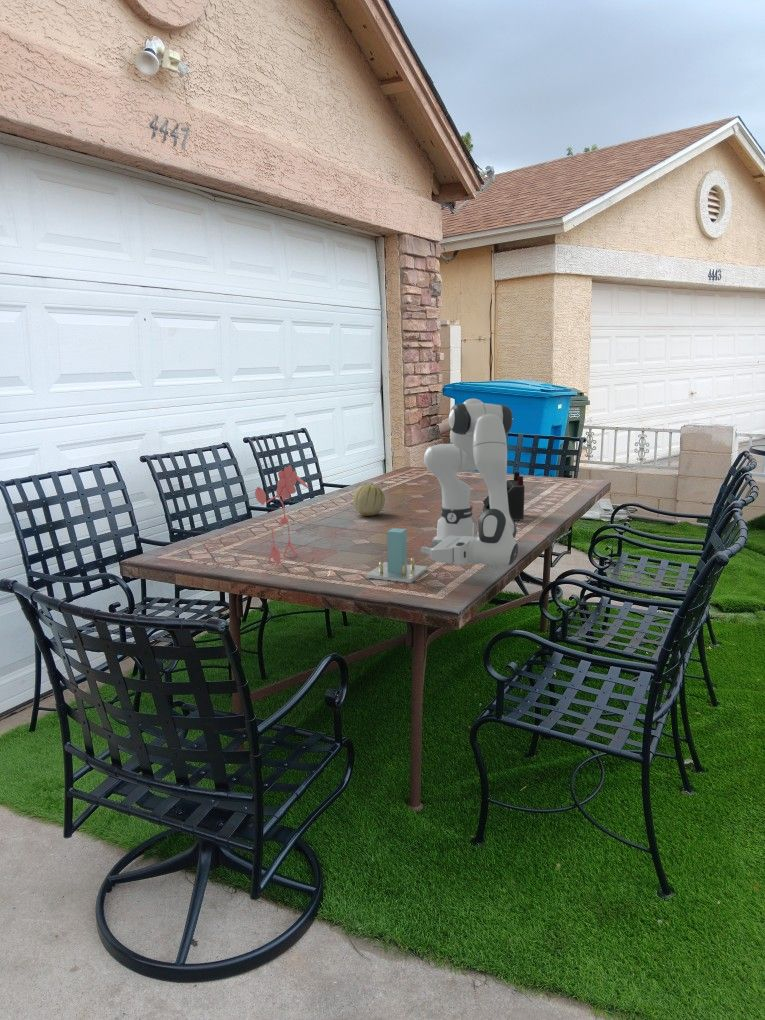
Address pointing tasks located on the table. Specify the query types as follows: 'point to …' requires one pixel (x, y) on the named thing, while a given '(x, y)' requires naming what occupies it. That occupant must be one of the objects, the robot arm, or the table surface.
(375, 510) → the cantaloupe
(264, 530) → the table surface
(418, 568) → the post plate
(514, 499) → the voltmeter
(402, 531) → the teal block
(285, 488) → the figurine
